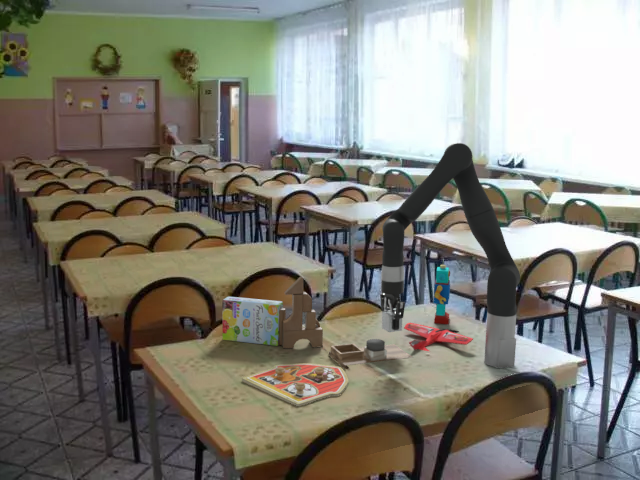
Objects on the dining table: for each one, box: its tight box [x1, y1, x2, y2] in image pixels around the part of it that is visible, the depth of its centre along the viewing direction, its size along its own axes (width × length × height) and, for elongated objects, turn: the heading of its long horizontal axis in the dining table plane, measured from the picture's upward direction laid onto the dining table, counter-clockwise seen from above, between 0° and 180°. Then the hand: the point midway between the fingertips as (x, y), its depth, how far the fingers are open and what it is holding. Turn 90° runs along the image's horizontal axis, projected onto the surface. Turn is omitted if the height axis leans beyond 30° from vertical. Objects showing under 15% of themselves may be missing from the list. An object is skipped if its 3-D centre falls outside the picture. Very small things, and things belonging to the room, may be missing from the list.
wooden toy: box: [278, 275, 324, 349], centre depth 259 cm, size 16×7×25 cm, turn 101°
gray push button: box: [365, 338, 386, 351], centre depth 247 cm, size 6×6×5 cm
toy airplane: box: [403, 322, 474, 352], centre depth 262 cm, size 27×27×5 cm
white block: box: [381, 310, 403, 333], centre depth 252 cm, size 5×5×6 cm
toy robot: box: [433, 258, 451, 325], centre depth 291 cm, size 12×6×25 cm, turn 168°
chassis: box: [328, 342, 413, 370], centre depth 250 cm, size 14×24×4 cm, turn 111°
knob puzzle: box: [241, 362, 349, 407], centre depth 228 cm, size 29×30×4 cm
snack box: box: [221, 296, 284, 347], centre depth 264 cm, size 21×6×15 cm, turn 74°
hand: (391, 327), depth 253 cm, fingers closed on white block, 5 cm apart
